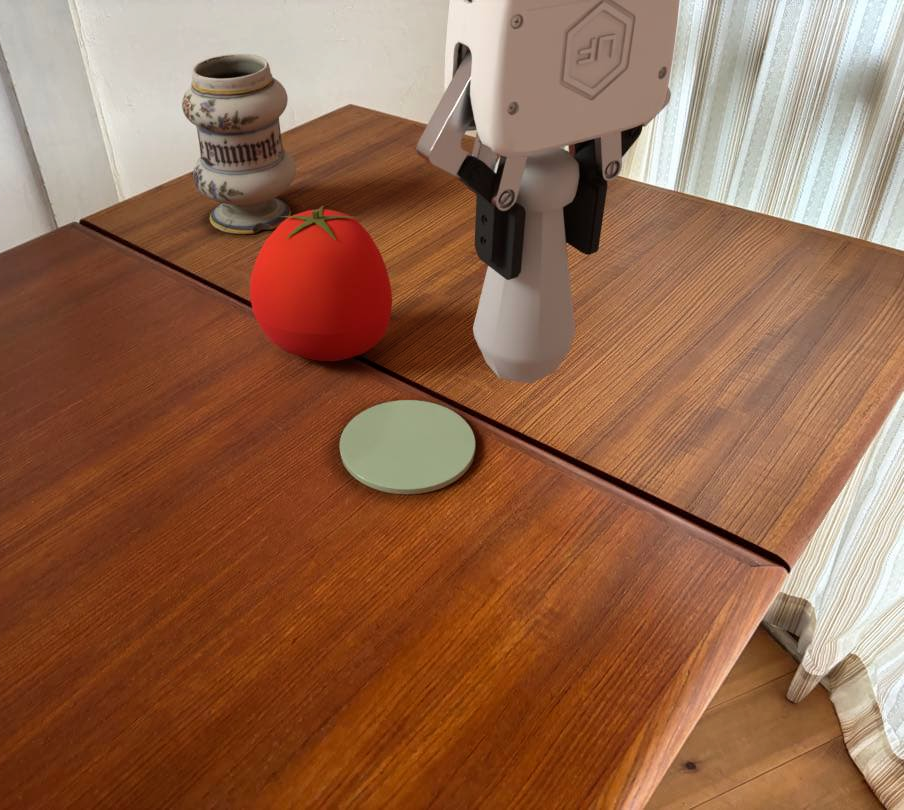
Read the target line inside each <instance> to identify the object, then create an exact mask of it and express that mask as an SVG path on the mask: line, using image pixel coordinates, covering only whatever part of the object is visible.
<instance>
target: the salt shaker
mask: <svg viewBox="0 0 904 810" xmlns="http://www.w3.org/2000/svg"><path fill="white" fill-rule="evenodd" d="M499 160H500V157H499V158H498V159H497V161H496V165H495V170H494V172H495V173H496V172H497V168H498V164H499ZM579 176H580V175H579V164H578V162H577V161H576V160H575V158H574V157H573V156H572V155H571V154H570V153H569V150H567V149H564V148H563V147H560V148H556V149H552V150H549V151H545V152H541V153H536V154H532V155H528V157H527V161H526V165H525V169H524V173H523V177H522V181H521V185H520V188H519V192H518V196H517V200H516V203H518V204H520V205H521V206H523V207H524V209H525V212H526V217H525V229H524V241H523V253H522V265H521V273H520V274H519V276H518V277H517V278H514V279H510V280H506V279H505V278H504V277H502V276H501V275H500V274H498V273H497V272H496V271H495V270H493V269H492V268H491V267H489V266H488V265H487V269H486V273H485V277H484V281H483V284H482V290H481V294H480V297H479V301H478V304H477V305H478V306H477V310H476V313H475V318H474V322H473V327H472V332H473V337H474V339H475V342H476V343H477V346H478V348H479V351H480V352H481V354H482V356H483V359H484V361H485V363H486V364H487V365H488V367H489V368H490V369H491V370H492V372H494V374H495V375H496V376H497V377H498V379H500V380H502V381H503V380H504V381H510V382H517V383H523V384H529V385H531V384H533V383H536V382H538V381H541V380H542V379H544V378H546V377H548V376H550V375H553V374H554V373H556V371H557V370H558V368H559V367H560V365H561V364H562V363H563V361H564V359H565V358H566V357H567V355H568V354H569V352H570V351H571V349H572V345H573V341H574V338H575V334H576V321H575V311H574V303H573V301H574V300H573V292H572V285H571V284H572V283H571V282H572V281H571V275H570V266H569V256H568V244H567V243H566V235H565V226H564V216H563V207H564V206H566V205H567V204H569V203H571V202H572V201H573V199H574V197H575V195H576V191H577V188H578V182H579Z"/></svg>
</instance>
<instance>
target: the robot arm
mask: <svg viewBox="0 0 904 810" xmlns="http://www.w3.org/2000/svg"><path fill="white" fill-rule="evenodd" d="M680 1H681V0H449V5H448V12H447V26H446V37H445V51H444V53H445V54H444V74H443V75H444V76H443V91H444V94H443V96H442V97H441V99H440V101H439V102H438V104H437V107H436V108H435V110H434V111H433V114H432V115H431V117H430V120H429V121H428V123H427V124H426V127H425V128H424V131H423V133H422V134H421V136H420V138H419V140H418V142H417V144H416V150H415V151H416V153H417V155H418V156H419V157H420V158H422V159H423V160H425V161H426V162H427V163H429V164H431V165H432V166H434V167H436V168H437V169H439V170H441V171H443V172H445V173H447V174H449V175H451V176H453V177H455V178H457V179H458V180H459V181H460V182H461V183H462V184H463V185H465V186H466V188H467V189H468V190H469V191H470V192H472V193H474V194H475V195H476V200H475V201H476V202H475V221H474V222H475V226H474V249H475V252H476V255H477V257H478V259H479V260H480V261H481V262H483V263H485V264H486V265H487V267H488V266H489V267H491V268H492V269H493V270H495V271H496V272H497V273H498V274H500V275H501V276H502V277H504V278H505V279H506V280H510V279H514V278H517V277H518V276H519V274H520V273H521V265H522V253H523V241H524V229H525V217H526V212H525V209H524V207H523V206H521V205H520V204H518V203H516V200H517V196H518V192H519V188H520V185H521V181H522V177H523V173H524V169H525V165H526V161H527V157H528V155H532V154H536V153H541V152H545V151H549V150H552V149H556V148H564V147H568V152H569V153H570V154H571V155H572V156H573V157H574V158H575V160H576V161H577V162H578V164H579V175H580V176H579V182H578V188H577V191H576V195H575V197H574V199H573V201H572V202H571V203H569V204H567V205H566V206H564V207H563V216H564V226H565V235H566V244H567V245H569V246H571V247H572V248H574V249H575V250H577V251H578V252H580V253H581V254H584V255H586V256H590V255H592V254H596V253H597V252H598V251H599V248H600V243H601V242H600V241H601V240H600V239H601V234H602V226H603V221H604V215H605V214H604V213H605V207H606V200H607V192H608V182H612V181H614V180H615V179H617V177H619V175H620V173H621V171H622V169H623V158H624V156H625V155H626V154H627V152H629V150H630V149H631V148H632V146H633V145H634V144H635V142H636V141H637V140H638V139H639V137H640V136H641V133H642V131H643V127H645V128H646V127H647V126H648V125H649V123H651V122H652V121H653V120H654V119H655V118H656V117H657V115H659V114H660V113H661V111H662V110H664V109H665V108H666V107H667V105H668V104H669V103H670V101H671V96H672V94H671V93H672V92H671V90H670V87H669V84H670V79H671V72H672V66H673V65H672V64H673V59H674V52H675V45H676V35H677V30H678V29H677V28H678V19H679V18H678V17H679V9H680ZM472 131H476V134H475V137H474V143H473V148H472V152H471V153H470V152H469V151H468V150H465V149H463V146H462V140H463V138H464V135H466V132H472ZM498 156H499V158H500V160H499V159H498ZM498 160H499V164H498V168H497V172H496V173H495V172H494V170H495V166H496V163H497V162H498Z"/></svg>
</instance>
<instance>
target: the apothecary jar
mask: <svg viewBox="0 0 904 810" xmlns="http://www.w3.org/2000/svg"><path fill="white" fill-rule="evenodd" d="M191 79H192V80H191V85H190V86H189V87H188V89H187V90H186V91H185V93H184V95H183V97H182V101H181V108H182V112H183V115H184V116H185V118H186V119H187V120H188V121H189V122H190V123H191V124H192V125H194V126H196V132H197V138H198V143H199V152H200V157H199V158H198V159H197V161H196V163H195V165H194V168H193V174H192V176H193V182H194V185H195V187H196V189H197V190H198V191H199V192H200V193H201V194H202V195H204V196H205V197H206V198H208V199H210V200H212V201H214V202H216V203H218V204H219V203H220V204H219V205H217V206H216V207H215V208H213V209H212V211H211V212H210V214H209V222H210V224H211V225H212V226H213V227H214V228H215V229H217V230H219V231H221V232H223V233H226V234H233V235H253V234H256V233H259V232H261V231H265V230H267V231H271V230H275V229H276V228H277V227H278V226H279V225H280V224H281V223H282V222H283V221H285V220H286V219H287V218H289V217H279V216H291V214H292V211H291V208H290V206H289V205H288V204H287V203H286V202H285V201H283V200H281V199H280V198H277V197H279V196H280V195H281V194H283V193H285V192H286V191H287V190H288V189H289V187H291V185H292V183H293V182H294V180H295V177H296V173H297V166H296V162H295V160H294V158H293V157H292V155H291V154H290V153H289V152H288V151H287V150H286V149H285V148H284V145H283V139H282V132H281V124H280V123H281V122H280V117H281V116H282V115H283V113H284V112H285V110H286V108H287V105H288V101H289V100H288V98H289V97H288V93H287V90H286V88H285V87H284V85H283V84H282V83H281V82H280V81H279V80H278V79H276V78H275V77H273V74H272V72H271V68H270V64H269V62H268V61H267V60H266V58H264V57H262V56H259V55H256V54H250V53H229V54H223V55H217V56H213V57H212V56H211V57H209V58H206V59H204V60H201V61H199V62H198V63H196V64H195V65H193V67H192V70H191Z"/></svg>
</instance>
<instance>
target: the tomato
mask: <svg viewBox="0 0 904 810" xmlns="http://www.w3.org/2000/svg"><path fill="white" fill-rule="evenodd" d="M279 217H289V218H287V219H286V220H285V221H283V222H282V223H281V224H280V225H279V226H278V227H277V228H275V229H274V231H272V233H271V234H269V236H268V237H267V238H266V239H265V241H264V242H263V245H262V247H261V249H260V251H259V252H258V255H257V257H256V259H255V261H254V266H253V268H252V272H251V276H250V285H249V286H250V287H249V299H250V303H251V308H252V312H253V316H254V317H255V320H256V322H257V324H258V326H259V327H260V329H261V330H262V332H263V333H264V334H265V335H266V337H267V338H268V339H269V340H270V341H271V342H272V343H273V344H274V345H275V346H277V347H278V348H280V349H281V350H282V351H284V352H287V353H288V354H290V355H294V356H296V357H301V358H304V359H309V360H313V361H320V362H336V361H342V360H347V359H351V358H354V357H357V356H360V355H363V354H364V353H366V352H368V351H370V350H371V349H373V348H374V347H376V346H377V345H378V344H379V343H380V341H381V340H382V339H383V337H384V335H385V334H386V333H387V331H388V327H389V323H390V320H391V316H392V307H393V293H392V285H391V281H390V277H389V273H388V269H387V265H386V263H385V261H384V258H383V256H382V253H381V251H380V249H379V248H378V246H377V244H376V243H375V241H374V239H373V238H372V236H371V234H370V233H369V231H367V230H366V228H365V227H364V226H363V225H362V224H361V223H360V221H358V220H357V219H358V218H359V216H351V215H349V214H347V213H344V212H341V211H337V210H333V209H327V208H326V209H324V205H322V206H320V207H319V208H318V209H317V208H316V209H309V210H305V211H301V212H299V213H296V214H293V215H290V216H279Z"/></svg>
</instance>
